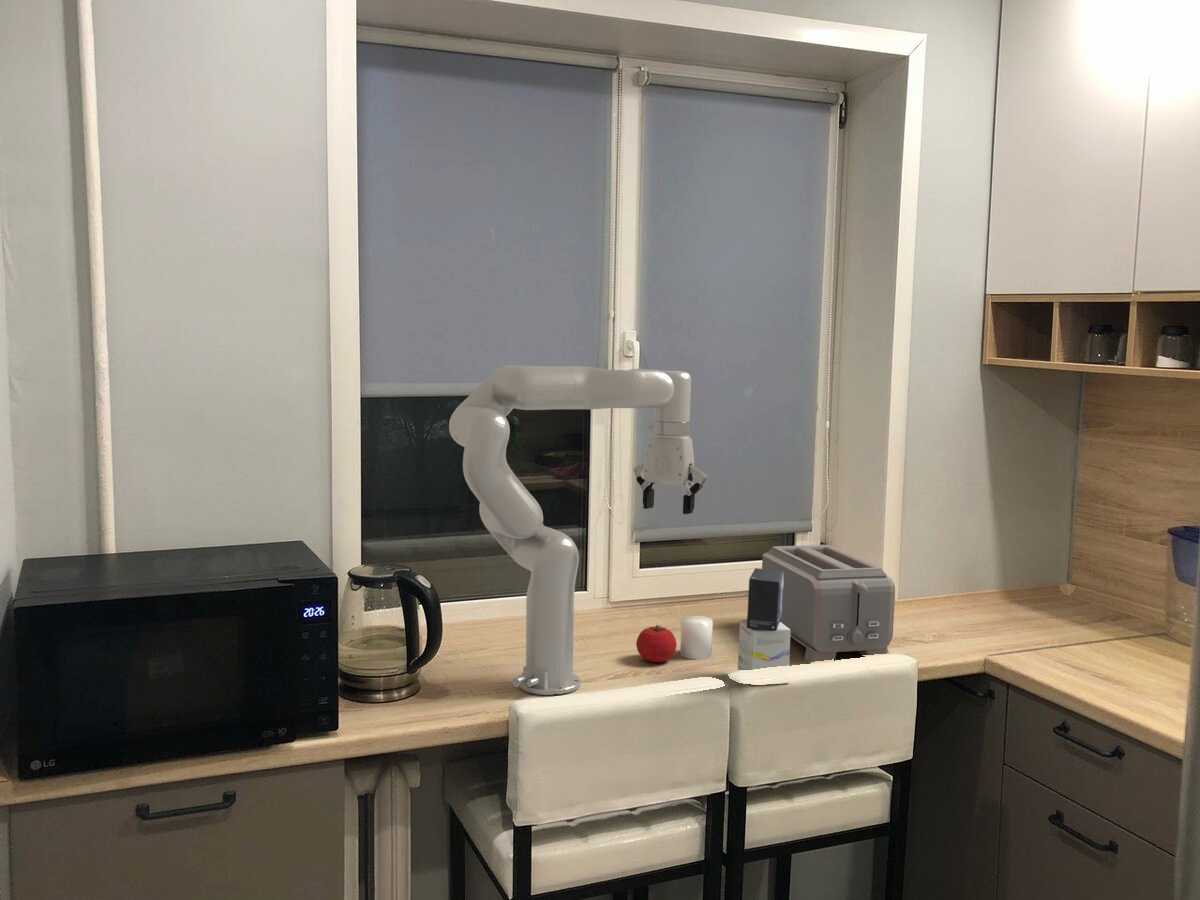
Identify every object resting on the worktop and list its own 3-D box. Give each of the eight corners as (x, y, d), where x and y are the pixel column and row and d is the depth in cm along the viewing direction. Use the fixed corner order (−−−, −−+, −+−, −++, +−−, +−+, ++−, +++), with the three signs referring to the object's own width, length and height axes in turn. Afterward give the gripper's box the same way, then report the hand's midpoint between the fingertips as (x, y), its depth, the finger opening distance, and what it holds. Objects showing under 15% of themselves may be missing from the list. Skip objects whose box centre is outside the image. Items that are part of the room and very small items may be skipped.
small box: (778, 632, 203) (780, 581, 202) (745, 629, 205) (747, 578, 204) (783, 618, 213) (784, 569, 212) (752, 615, 215) (753, 567, 214)
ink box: (789, 684, 207) (792, 628, 206) (750, 686, 206) (752, 629, 204) (774, 671, 216) (777, 617, 215) (736, 673, 214) (738, 618, 213)
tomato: (656, 651, 228) (657, 617, 227) (684, 661, 221) (685, 625, 220) (627, 659, 222) (628, 623, 221) (655, 669, 215) (656, 632, 214)
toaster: (819, 670, 217) (824, 577, 215) (756, 625, 251) (759, 544, 249) (900, 665, 222) (905, 573, 220) (827, 622, 255) (831, 542, 253)
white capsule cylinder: (702, 661, 221) (703, 626, 220) (674, 655, 225) (675, 620, 224) (717, 653, 227) (718, 619, 226) (689, 648, 231) (690, 613, 230)
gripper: (626, 427, 213) (623, 508, 215) (698, 433, 204) (694, 517, 205) (645, 426, 220) (642, 504, 221) (716, 432, 210) (712, 513, 211)
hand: (667, 510), depth 213 cm, fingers open, 9 cm apart
